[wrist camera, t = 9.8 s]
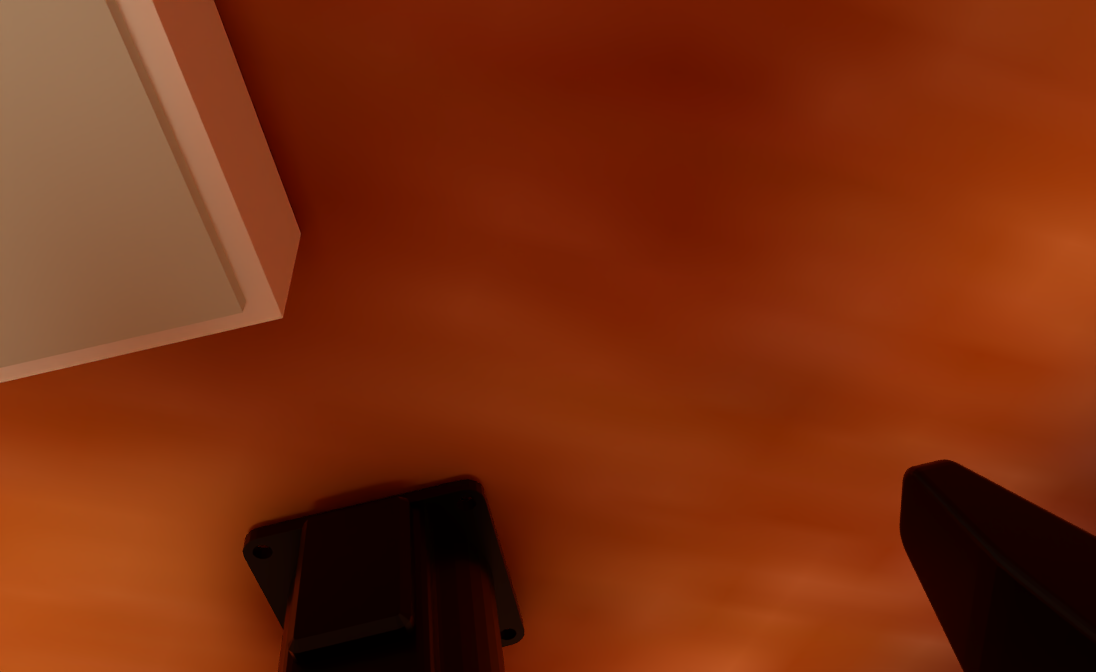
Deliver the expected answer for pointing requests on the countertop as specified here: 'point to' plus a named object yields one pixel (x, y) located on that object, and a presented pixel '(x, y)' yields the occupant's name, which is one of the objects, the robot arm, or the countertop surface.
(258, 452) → the countertop surface
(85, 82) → the stand
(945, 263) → the countertop surface
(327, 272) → the countertop surface
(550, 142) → the countertop surface
